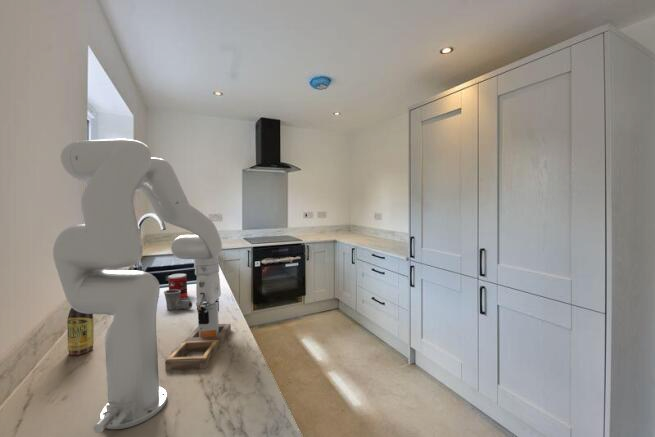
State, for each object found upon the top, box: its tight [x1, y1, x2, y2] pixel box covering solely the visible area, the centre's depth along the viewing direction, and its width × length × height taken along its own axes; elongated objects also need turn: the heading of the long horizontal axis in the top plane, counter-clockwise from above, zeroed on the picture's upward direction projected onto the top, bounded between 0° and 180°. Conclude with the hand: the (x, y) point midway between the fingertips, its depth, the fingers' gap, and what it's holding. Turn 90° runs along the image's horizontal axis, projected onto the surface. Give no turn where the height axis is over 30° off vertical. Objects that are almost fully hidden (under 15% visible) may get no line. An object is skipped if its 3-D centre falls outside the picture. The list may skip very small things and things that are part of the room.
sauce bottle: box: [66, 307, 95, 356], centre depth 90 cm, size 6×6×20 cm
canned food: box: [167, 273, 188, 300], centre depth 142 cm, size 8×8×11 cm
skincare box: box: [197, 302, 220, 337], centre depth 98 cm, size 6×4×12 cm
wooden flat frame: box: [164, 323, 232, 371], centre depth 92 cm, size 24×11×3 cm, turn 2°
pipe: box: [163, 289, 193, 311], centre depth 126 cm, size 6×13×8 cm, turn 78°
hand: (209, 317), depth 98 cm, fingers open, 9 cm apart
